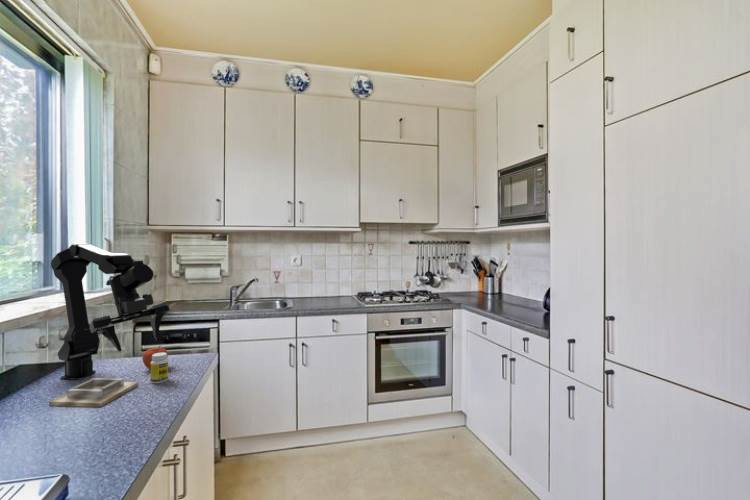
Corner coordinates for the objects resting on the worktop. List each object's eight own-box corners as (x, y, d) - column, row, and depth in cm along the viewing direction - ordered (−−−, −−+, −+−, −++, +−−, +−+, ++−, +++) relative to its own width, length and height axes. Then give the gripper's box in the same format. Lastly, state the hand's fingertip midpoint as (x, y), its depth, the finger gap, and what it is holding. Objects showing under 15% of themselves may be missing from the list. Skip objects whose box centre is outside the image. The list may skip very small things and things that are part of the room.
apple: (148, 365, 125) (148, 343, 124) (171, 364, 126) (171, 342, 126) (138, 373, 117) (138, 349, 117) (162, 372, 119) (162, 348, 118)
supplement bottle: (159, 384, 108) (159, 357, 108) (146, 383, 109) (146, 356, 109) (171, 378, 113) (171, 352, 113) (159, 377, 114) (159, 351, 114)
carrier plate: (49, 405, 94) (49, 394, 94) (93, 384, 108) (93, 374, 108) (100, 406, 93) (100, 395, 93) (138, 385, 107) (138, 375, 107)
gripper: (90, 293, 92) (105, 351, 89) (168, 279, 106) (183, 329, 103) (83, 305, 99) (97, 359, 96) (157, 290, 113) (171, 337, 110)
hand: (139, 345), depth 101 cm, fingers open, 9 cm apart
